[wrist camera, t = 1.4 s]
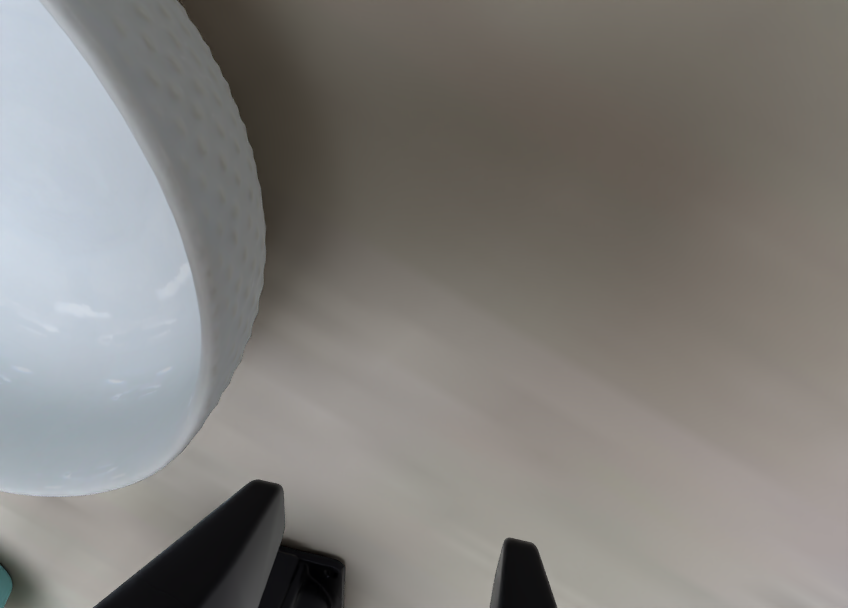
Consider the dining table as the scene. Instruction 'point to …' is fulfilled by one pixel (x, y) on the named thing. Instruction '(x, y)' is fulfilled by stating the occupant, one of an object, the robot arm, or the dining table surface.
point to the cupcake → (4, 586)
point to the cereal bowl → (117, 241)
